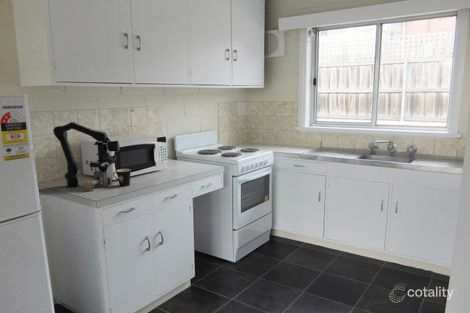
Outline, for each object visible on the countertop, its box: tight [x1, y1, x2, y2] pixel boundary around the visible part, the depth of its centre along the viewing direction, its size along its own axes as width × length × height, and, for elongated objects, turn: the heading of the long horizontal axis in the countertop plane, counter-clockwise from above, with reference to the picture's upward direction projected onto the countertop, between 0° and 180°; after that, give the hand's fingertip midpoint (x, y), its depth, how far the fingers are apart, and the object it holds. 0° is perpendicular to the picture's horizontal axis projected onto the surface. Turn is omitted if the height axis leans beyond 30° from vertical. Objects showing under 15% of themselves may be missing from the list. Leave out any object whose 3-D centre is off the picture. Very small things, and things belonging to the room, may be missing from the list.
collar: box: [93, 170, 109, 188], centre depth 232 cm, size 3×8×9 cm, turn 68°
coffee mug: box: [112, 168, 132, 188], centre depth 235 cm, size 12×9×10 cm
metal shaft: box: [83, 175, 113, 192], centre depth 230 cm, size 19×5×5 cm, turn 158°
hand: (104, 175), depth 234 cm, fingers closed
